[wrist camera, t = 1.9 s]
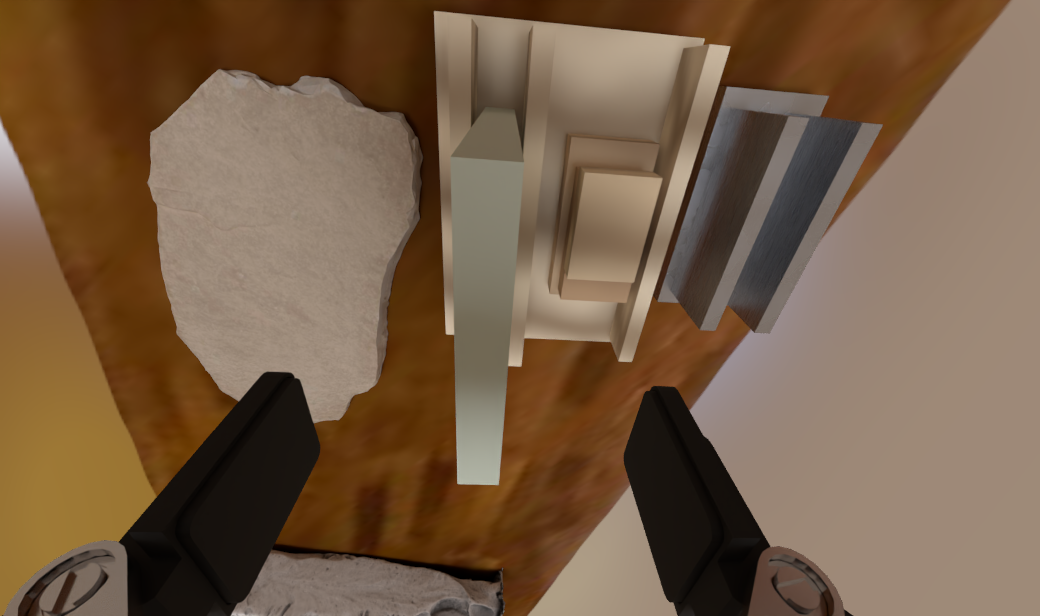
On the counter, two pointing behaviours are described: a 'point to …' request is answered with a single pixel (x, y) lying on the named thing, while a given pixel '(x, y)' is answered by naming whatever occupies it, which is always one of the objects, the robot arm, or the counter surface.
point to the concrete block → (364, 589)
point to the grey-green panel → (484, 285)
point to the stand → (758, 203)
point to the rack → (543, 135)
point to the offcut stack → (602, 216)
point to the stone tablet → (284, 231)
